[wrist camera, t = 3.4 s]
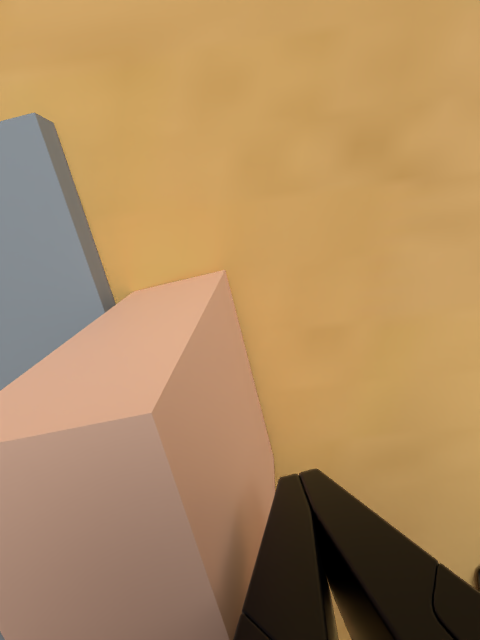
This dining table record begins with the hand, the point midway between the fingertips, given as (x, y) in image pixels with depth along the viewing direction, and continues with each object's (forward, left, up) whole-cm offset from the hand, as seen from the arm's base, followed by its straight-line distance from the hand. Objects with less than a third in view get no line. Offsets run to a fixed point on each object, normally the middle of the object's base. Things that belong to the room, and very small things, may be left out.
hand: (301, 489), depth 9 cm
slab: (0, +2, -7) cm, 8 cm away
